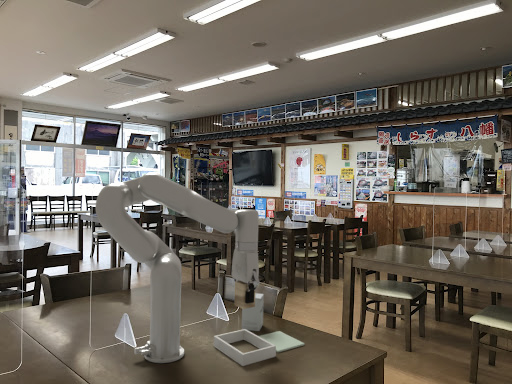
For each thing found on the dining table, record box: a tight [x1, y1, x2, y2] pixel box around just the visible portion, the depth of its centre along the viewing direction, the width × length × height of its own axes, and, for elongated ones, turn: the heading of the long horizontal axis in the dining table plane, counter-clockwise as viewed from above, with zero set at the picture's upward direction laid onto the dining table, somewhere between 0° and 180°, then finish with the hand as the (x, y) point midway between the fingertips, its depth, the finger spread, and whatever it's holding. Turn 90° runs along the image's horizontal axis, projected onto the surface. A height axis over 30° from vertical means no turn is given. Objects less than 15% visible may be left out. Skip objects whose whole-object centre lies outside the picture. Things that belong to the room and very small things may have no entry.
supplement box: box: [241, 292, 265, 332], centre depth 156 cm, size 7×7×13 cm
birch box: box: [233, 281, 257, 309], centre depth 133 cm, size 5×5×8 cm
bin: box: [213, 329, 277, 367], centre depth 133 cm, size 13×18×4 cm
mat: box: [258, 330, 305, 353], centre depth 142 cm, size 12×14×1 cm
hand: (244, 300), depth 133 cm, fingers closed on birch box, 5 cm apart
